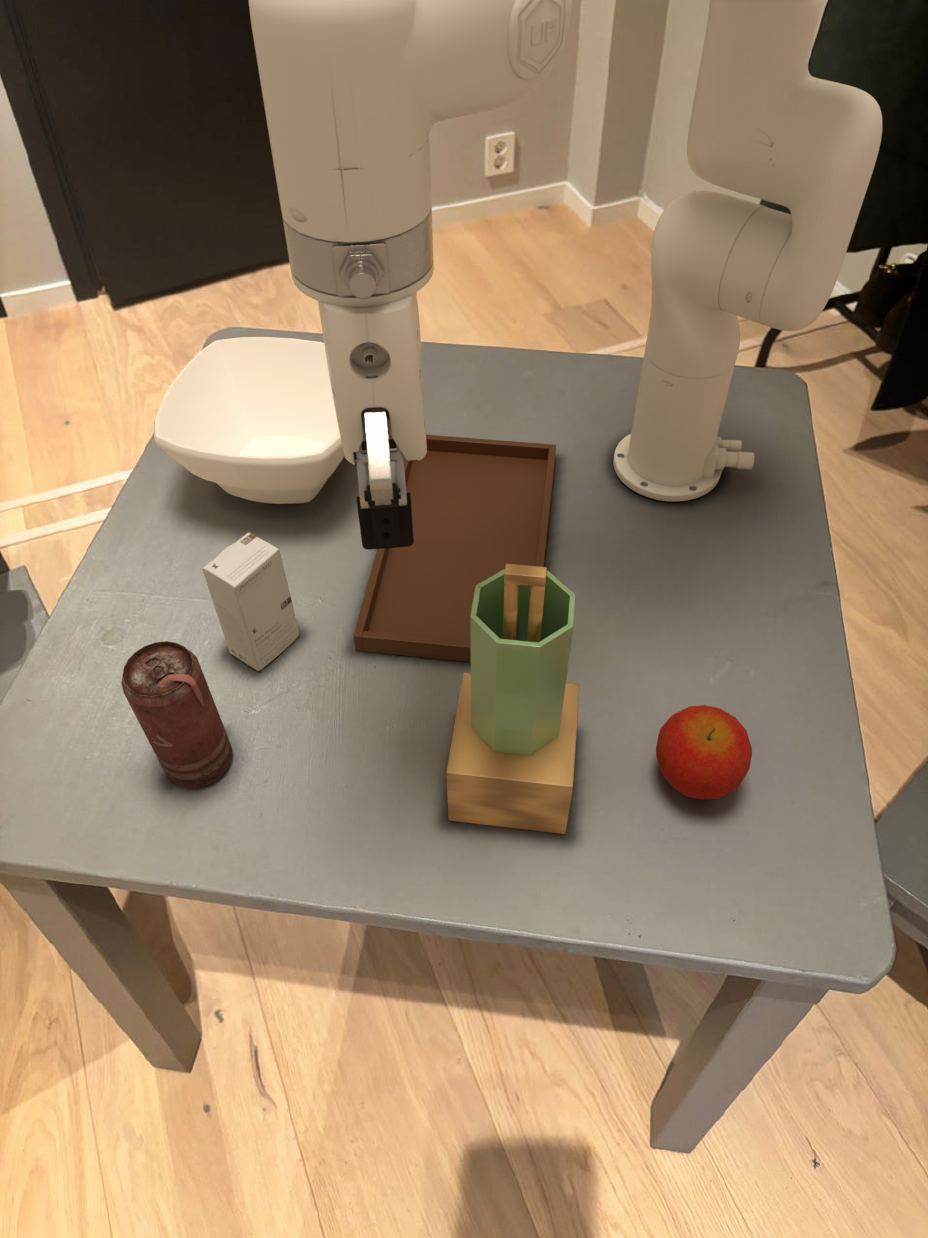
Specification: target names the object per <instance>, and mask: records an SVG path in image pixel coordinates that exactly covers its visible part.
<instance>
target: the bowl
mask: <svg viewBox="0 0 928 1238" xmlns="http://www.w3.org/2000/svg"><path fill="white" fill-rule="evenodd" d="M153 439H154V444H155V445H156V446H158V447H159V448H160V449H161V450H163V451H164V452H165V453H166V454H168V456H170V457H171V458H172V459H174V460H175V461H176V462H177V463H178V464H179V465H181V466H182V467H184V468H185V469H186V470H187V471H188V472H189V473H191V474H192V475H194V476H196V477H198V478H200V479H202V480H205V481H208V482H211V483H215V484H216V485H218V486H219V487H220V488H221V489H222V490H223V491H224V492H225V493H226V494H229V495H231V496H233V497H237V498H241V499H243V500H244V499H245V500H248V501H251V502H257V503H264V504H274V505H275V504H276V505H283V504H284V505H285V504H286V505H287V504H305V503H309V502H311V501H313V499H315V498H316V497H317V495H318V494H319V492H321V489H323V487H324V485H325V484H327V481H328V479H329V478H330V477H331V476H332V475H333V474H334V472H335V471H336V469H337V468H338V467H339V465H340V464H341V462H342V461H343V460H344V459H345V456H344V452H343V447H342V442H341V437H340V432H339V427H338V422H337V417H336V412H335V406H334V401H333V395H332V389H331V384H330V378H329V372H328V365H327V359H326V352H325V345H324V341H315V340H309V339H308V340H307V339H302V338H291V337H272V336H271V337H270V336H241V337H240V336H239V337H233V338H222V339H217V340H214V341H213V342H211V343H210V344H208V345H207V346H205V347H204V348H203V349H201V350H200V351H198V352H197V353H196V354H195V355H194V356H193V357H192V358H191V359H190V360H189V362H187V363H186V365H185V366H183V368H182V369H181V370H180V371H179V373H178V374H177V376H175V378H174V379H173V380H172V382H171V383H170V385H169V387H168V388H167V390H166V392H165V394H164V396H163V398H162V400H161V402H160V405H159V408H158V411H157V413H156V416H155V419H154V422H153Z"/></svg>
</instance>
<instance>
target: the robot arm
mask: <svg viewBox="0 0 928 1238" xmlns="http://www.w3.org/2000/svg"><path fill="white" fill-rule="evenodd" d="M822 1H823V0H709V3H708V4H709V5H708V14H707V22H706V29H705V35H704V40H703V46H702V52H701V56H700V57H701V58H700V63H699V68H698V75H697V80H696V84H695V91H694V97H693V102H692V107H691V114H690V120H689V125H688V126H689V127H688V132H687V143H686V157H687V163H688V165H689V167H690V169H691V171H692V172H693V173H694V174H695V175H696V176H697V177H699V178H700V179H701V180H703V181H705V182H708V183H710V184H712V185H715V186H717V187H720V188H722V189H725V190H728V191H732V192H735V193H738V194H742V195H745V196H749V197H752V198H755V199H759V200H762V201H766V202H768V203H773V204H775V205H780V206H783V207H786V208H787V209H788V210H789V212H790V213H787V212H784V211H781V210H777V209H774V208H770V207H768V206H766V205H763V204H759V203H756V202H752V201H749V200H746V199H742V198H739V197H736V196H734V195H733V196H732V195H729V194H725V193H721V192H715V191H708V190H697V191H695V190H694V191H690V192H686V193H684V194H681V195H680V196H678V197H676V198H674V199H673V200H672V201H671V202H670V203H669V204H667V206H666V207H665V208H664V209H663V211H662V212H661V213H660V216H659V218H658V220H657V222H656V224H655V227H654V230H653V234H652V239H651V245H650V248H651V249H650V273H651V274H650V277H651V299H650V300H651V302H650V313H649V320H648V321H649V322H648V327H647V335H646V340H645V347H644V352H643V353H644V354H643V360H642V366H641V372H640V377H639V383H638V389H637V395H636V401H635V407H634V414H633V419H632V425H631V426H632V427H631V431H630V433H629V434H627V435H626V436H624V437H623V438H622V439H621V440H620V441H619V442H618V444H617V446H616V447H615V450H614V454H613V461H612V462H613V463H612V464H613V469H614V471H615V474H616V476H617V477H618V478H619V480H620V481H621V482H622V483H623V484H624V485H625V486H626V487H627V488H629V489H630V490H632V491H633V492H635V493H637V494H639V495H641V496H644V497H646V498H649V499H653V500H657V501H664V502H686V501H691V500H694V499H698V498H700V497H703V496H705V495H707V494H708V493H710V492H711V491H712V490H713V489H714V488H715V487H716V486H717V485H718V483H719V481H720V479H721V476H722V472H723V470H724V469H725V468H735V469H741V470H753V468H754V463H755V452H752V451H751V452H750V451H741V450H742V446H743V444H742V443H743V441H742V440H737V439H722V437H721V436H718V433H719V429H720V425H721V421H722V417H723V414H724V410H725V405H726V401H727V397H728V394H729V390H730V386H731V382H732V378H733V374H734V371H735V366H736V363H737V360H738V355H739V352H740V345H741V329H740V327H741V326H740V321H739V317H740V318H743V319H745V320H748V321H751V322H753V323H756V324H760V325H762V326H765V327H769V328H772V329H776V330H779V331H784V332H797V331H800V330H801V331H802V330H804V329H805V328H807V327H809V326H811V325H812V324H813V323H814V322H815V321H816V320H818V318H819V317H820V315H821V314H822V313H823V311H824V309H825V307H826V306H827V304H828V302H829V301H830V299H831V295H832V294H833V291H834V288H835V286H836V284H837V282H838V281H837V280H838V278H839V275H840V272H841V269H842V266H843V263H844V260H845V257H846V254H847V251H848V248H849V245H850V242H851V238H852V235H853V233H854V230H855V227H856V224H857V221H858V218H859V215H860V212H861V209H862V206H863V203H864V200H865V196H866V193H867V191H868V187H869V185H870V182H871V179H872V175H873V172H874V169H875V165H876V162H877V159H878V155H879V152H880V147H881V142H882V136H883V115H882V110H881V107H880V105H879V103H878V101H877V100H876V99H875V98H874V97H873V95H871V94H870V93H868V92H867V91H865V90H863V89H861V88H858V87H855V86H852V85H849V84H844V83H841V82H836V81H832V80H828V79H823V78H822V79H821V78H818V77H816V76H812V75H811V73H810V70H809V59H810V56H811V55H810V54H811V50H812V46H813V42H814V38H815V34H816V29H817V25H818V22H819V18H820V13H821V8H822V3H823V2H822ZM248 7H249V8H248V9H249V16H250V17H249V19H250V24H251V32H252V38H253V43H254V50H255V57H256V62H257V68H258V69H257V70H258V75H259V81H260V82H259V83H260V87H261V94H262V99H263V100H262V101H263V107H264V112H265V118H266V119H265V120H266V126H267V131H268V137H269V144H270V150H271V156H272V162H273V169H274V174H275V175H274V176H275V182H276V187H277V193H278V199H279V205H280V211H281V218H282V224H283V230H284V237H285V243H286V249H287V256H288V261H289V265H290V273H291V274H290V275H291V279H292V282H293V284H294V285H295V287H296V288H297V289H298V290H299V291H300V292H301V293H302V294H303V295H305V296H307V297H309V298H310V299H312V300H315V301H317V302H318V311H319V318H320V326H321V332H322V337H323V343H324V345H325V352H326V359H327V365H328V372H329V378H330V384H331V389H332V395H333V401H334V406H335V412H336V417H337V422H338V427H339V432H340V437H341V442H342V447H343V452H344V459H345V460H346V461H348V462H349V463H350V464H352V465H353V466H356V473H357V483H358V484H357V485H358V493H359V494H358V495H359V496H356V507H357V515H358V524H359V530H360V538H361V539H360V540H361V544H362V548H363V549H365V550H367V551H368V550H369V551H370V550H377V549H384V548H397V547H408V546H411V545H413V543H414V538H413V523H412V509H411V495H410V493H406V482H405V470H404V457H405V458H406V460H407V461H410V460H418V461H419V460H422V459H423V458H424V456H425V455H426V453H427V443H426V435H427V430H426V414H425V395H424V393H425V392H424V376H423V375H424V374H423V373H424V372H423V355H422V337H421V325H420V323H421V322H420V314H419V304H418V303H419V302H418V293H417V292H419V291H420V290H422V289H423V288H425V286H426V285H427V284H428V283H429V282H430V280H431V278H432V277H433V274H434V270H435V268H434V267H435V266H434V237H433V236H434V235H433V232H434V231H433V207H432V206H433V205H432V201H433V200H432V175H431V174H432V173H431V145H430V144H431V143H430V142H431V141H430V132H431V129H432V128H433V126H434V125H435V124H437V123H438V122H441V121H446V120H450V119H455V118H460V117H465V116H470V115H471V116H472V115H477V114H481V113H487V112H491V111H494V110H498V109H502V108H505V107H507V106H510V105H513V104H515V103H517V102H519V101H520V100H522V99H523V98H524V97H526V96H527V95H529V94H531V93H532V92H533V91H534V90H536V89H537V88H538V87H539V86H540V85H541V84H542V83H543V81H544V80H546V78H547V77H548V76H549V75H550V74H551V72H552V70H553V69H554V68H555V65H556V64H557V62H558V61H559V60H560V56H561V55H562V52H563V51H564V48H565V45H566V42H567V39H568V36H569V31H570V28H571V21H572V12H573V9H572V8H573V0H248ZM392 449H396V450H392ZM365 451H366V452H365ZM393 462H394V467H395V478H396V480H397V485H396V482H393V476H392V466H391V465H392V464H391V463H393ZM367 468H368V471H367ZM368 479H369V480H368Z"/></svg>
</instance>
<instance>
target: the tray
mask: <svg viewBox="0 0 928 1238" xmlns="http://www.w3.org/2000/svg"><path fill="white" fill-rule="evenodd" d="M426 443H427V453H426V455H425V456H424V458H423V459H422V460H419V461H418V460H410V461H407V460H406V458H405V457H404V470H405V482H406V493H410V495H411V509H412V523H413V538H414V543H413V545H411V546H408V547H397V548H384V549H376V553H375V555H374V559H373V563H372V568H371V571H370V575H369V579H368V582H367V586H366V589H365V592H364V597H363V601H362V603H361V609H360V611H359V614H358V618H357V622H356V626H355V630H354V633H353V640H354V646H355V651H357V652H367V653H376V654H387V655H395V656H396V655H397V656H407V657H418V658H426V659H436V660H445V661H446V660H447V661H456V662H466V663H471V637H470V616H471V610H472V604H473V598H474V592H475V586H476V585H477V584H479V583H481V582H483V581H484V580H486V579H488V578H490V577H491V576H493V575H495V574H497V573H498V572H500V571H502V570H504V569H505V567H506V564H515V565H526V566H537V567H545V560H546V559H545V558H546V550H547V549H546V548H547V538H548V530H549V521H550V510H551V501H552V491H553V484H554V483H553V482H554V473H555V463H556V452H557V444H553V443H550V444H549V443H542V442H541V443H539V442H528V441H527V442H525V441H514V440H513V441H512V440H501V439H487V438H474V437H461V436H447V435H435V434H426ZM395 483H396V485H397V479H396V482H395Z"/></svg>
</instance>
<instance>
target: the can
mask: <svg viewBox="0 0 928 1238" xmlns="http://www.w3.org/2000/svg"><path fill="white" fill-rule="evenodd" d="M122 670H123V671H122V677H121V688H122V692H123V694H124V696H125V698H126V701H127V702H128V704H129V706H130V708H131V710H132V712H133V714H134V716H135V718H136V720H137V721H138V724H139V726H140V727H141V729H142V731H143V733H144V735H145V737H146V739H147V742H148V743H149V745H150V747H151V748H152V751H153V753H154V754H155V757H156V758H157V760H158V762H159V764H160V766H161V768H162V770H163V772H164V774H165V775H166V777H167V778H168V779H169V780H170V782H172V783H174V784H175V785H177V786H179V787H183V788H190V789H192V788H193V789H194V788H201V787H205V786H207V785H211V784H212V783H214V782H216V781H217V780H218V779H220V778H221V777H222V776H223V775H224V774H225V772H226V771H227V770H228V769H229V767H230V764H231V762H232V759H233V747H232V744H231V741H230V739H229V736H228V733H227V731H226V728H225V726H224V723H223V720H222V717H221V715H220V712H219V710H218V708H217V706H216V702H215V700H214V697H213V695H212V692H211V690H210V687H209V684H208V682H207V679H206V677H205V674H204V672H203V669H202V666H201V664H200V662H199V659H198V657H197V656H196V654H194V653H193V651H191V650H190V649H188V648H187V647H186V646H184V645H182V644H180V643H179V642H178V643H177V642H175V641H174V642H173V641H167V640H166V641H165V640H164V641H155V642H153V643H150V644H147V645H145V646H144V645H143V647H141V648H140V649H138V650H136V651H135V652H133V654H131V656H130V657H129V658H128V659H127V660H126V663H125V665H124V667H123V669H122Z"/></svg>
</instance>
